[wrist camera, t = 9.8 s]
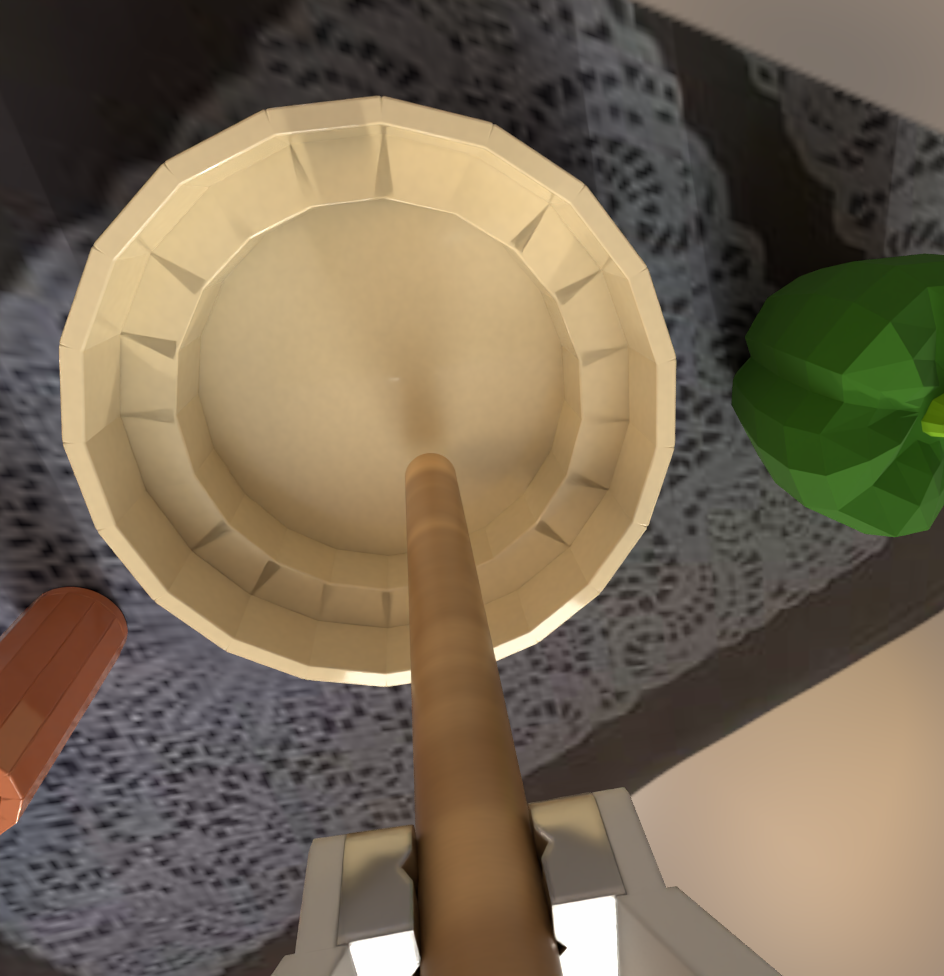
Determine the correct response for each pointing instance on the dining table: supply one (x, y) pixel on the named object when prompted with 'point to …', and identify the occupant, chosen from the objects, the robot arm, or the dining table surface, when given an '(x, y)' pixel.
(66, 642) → the stick holder
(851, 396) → the bell pepper
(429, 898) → the stirring stick
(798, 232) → the dining table surface
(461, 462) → the bowl
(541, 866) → the robot arm
